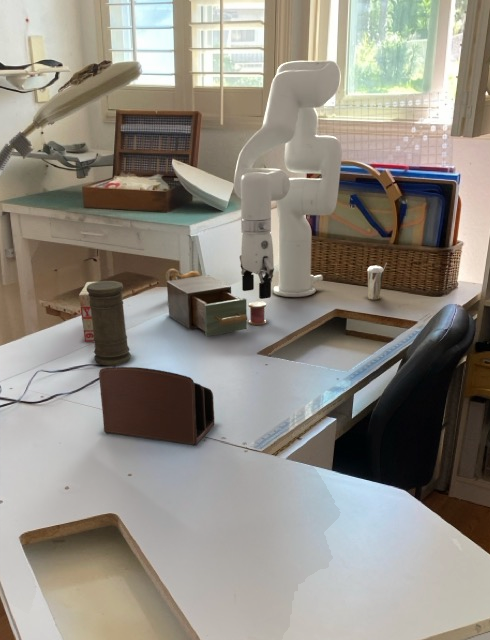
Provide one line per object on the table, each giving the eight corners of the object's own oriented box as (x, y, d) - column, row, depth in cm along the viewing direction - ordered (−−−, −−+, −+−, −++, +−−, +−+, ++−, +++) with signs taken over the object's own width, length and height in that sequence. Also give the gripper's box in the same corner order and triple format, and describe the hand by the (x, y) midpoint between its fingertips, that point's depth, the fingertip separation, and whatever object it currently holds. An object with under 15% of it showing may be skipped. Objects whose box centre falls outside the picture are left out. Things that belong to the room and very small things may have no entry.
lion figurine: (175, 302, 239) (173, 271, 235) (162, 299, 243) (160, 268, 238) (210, 291, 248) (209, 261, 244) (198, 289, 252) (196, 259, 247)
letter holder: (196, 446, 154) (192, 375, 147) (103, 433, 161) (95, 364, 153) (215, 425, 162) (212, 357, 155) (126, 414, 168) (119, 348, 161)
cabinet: (232, 322, 221) (231, 286, 216) (189, 329, 217) (187, 293, 212) (209, 309, 232) (208, 275, 227) (169, 316, 228) (166, 281, 223)
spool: (261, 318, 223) (261, 300, 220) (269, 323, 219) (269, 304, 216) (245, 321, 221) (245, 303, 219) (253, 326, 217) (253, 307, 215)
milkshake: (385, 300, 234) (388, 264, 229) (367, 300, 235) (369, 265, 229) (383, 295, 238) (385, 260, 233) (364, 296, 238) (366, 261, 233)
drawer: (255, 334, 209) (255, 303, 205) (215, 341, 205) (213, 310, 201) (224, 316, 223) (223, 287, 219) (186, 322, 219) (184, 293, 215)
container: (115, 368, 193) (107, 291, 183) (86, 362, 197) (77, 287, 187) (138, 357, 199) (132, 282, 190) (110, 351, 203) (102, 278, 194)
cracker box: (97, 317, 229) (92, 273, 222) (119, 317, 229) (114, 272, 222) (84, 342, 211) (78, 294, 204) (108, 341, 210) (103, 293, 204)
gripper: (285, 229, 202) (284, 299, 210) (253, 219, 215) (254, 285, 224) (258, 232, 199) (258, 303, 208) (228, 222, 212) (229, 289, 221)
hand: (256, 294), depth 216 cm, fingers open, 9 cm apart
